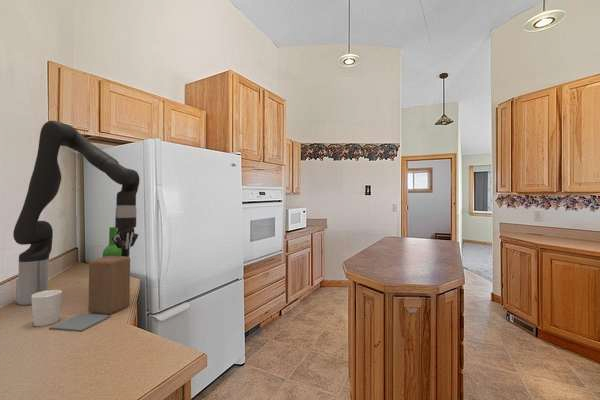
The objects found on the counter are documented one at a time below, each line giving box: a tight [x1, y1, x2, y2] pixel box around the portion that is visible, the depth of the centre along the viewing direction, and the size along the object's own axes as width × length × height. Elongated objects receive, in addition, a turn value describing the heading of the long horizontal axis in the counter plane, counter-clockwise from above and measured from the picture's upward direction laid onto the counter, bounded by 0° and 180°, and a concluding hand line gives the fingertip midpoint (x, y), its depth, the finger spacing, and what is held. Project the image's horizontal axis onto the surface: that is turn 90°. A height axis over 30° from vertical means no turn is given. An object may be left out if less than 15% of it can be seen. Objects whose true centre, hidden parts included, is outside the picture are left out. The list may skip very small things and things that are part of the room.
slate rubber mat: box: [48, 313, 112, 333], centre depth 99 cm, size 12×12×1 cm
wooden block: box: [87, 256, 131, 315], centre depth 112 cm, size 10×10×20 cm
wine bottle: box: [102, 226, 122, 257], centre depth 131 cm, size 8×8×30 cm
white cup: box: [31, 289, 63, 327], centre depth 99 cm, size 8×8×10 cm
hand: (125, 257), depth 120 cm, fingers closed
